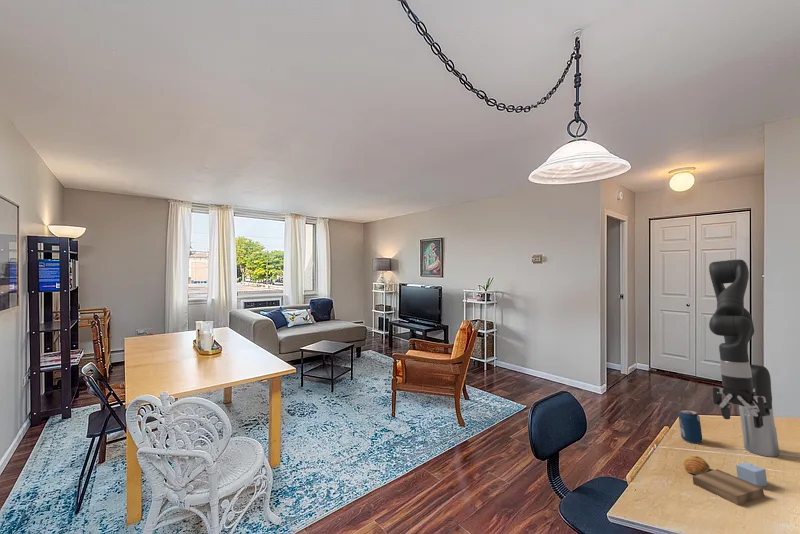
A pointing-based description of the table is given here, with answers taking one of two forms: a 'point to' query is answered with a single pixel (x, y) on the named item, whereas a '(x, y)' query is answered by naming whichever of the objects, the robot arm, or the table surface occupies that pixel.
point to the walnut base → (728, 486)
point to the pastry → (696, 465)
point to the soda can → (690, 426)
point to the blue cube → (752, 474)
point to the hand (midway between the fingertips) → (742, 423)
